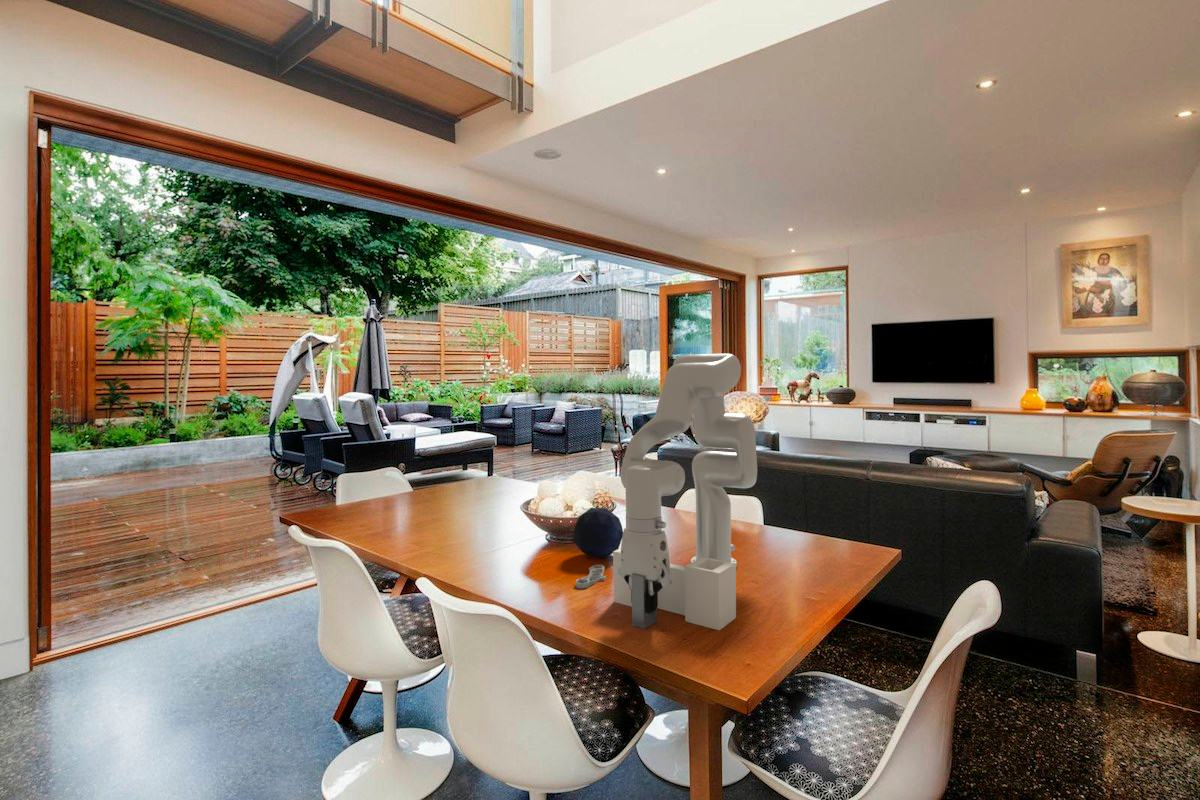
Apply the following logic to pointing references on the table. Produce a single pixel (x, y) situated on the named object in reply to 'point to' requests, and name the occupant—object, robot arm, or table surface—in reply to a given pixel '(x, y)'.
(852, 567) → the table surface
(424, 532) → the table surface
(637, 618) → the gray rectangular block
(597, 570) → the bracket
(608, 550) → the decorative orb
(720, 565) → the double socket connector
